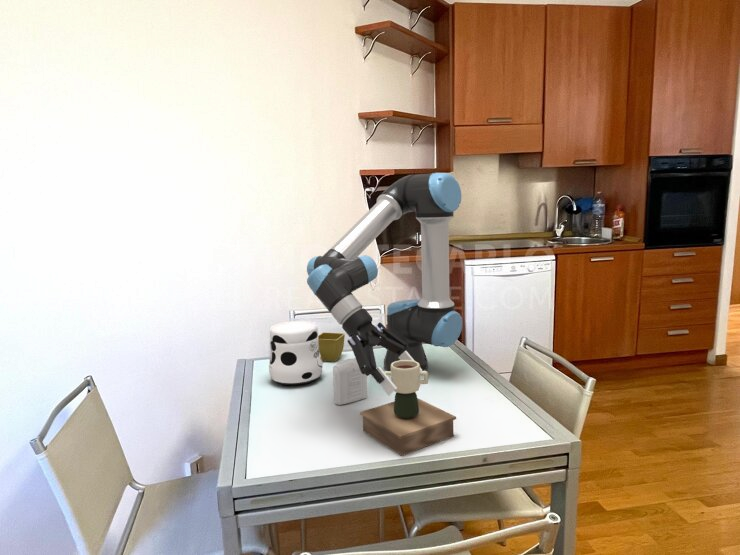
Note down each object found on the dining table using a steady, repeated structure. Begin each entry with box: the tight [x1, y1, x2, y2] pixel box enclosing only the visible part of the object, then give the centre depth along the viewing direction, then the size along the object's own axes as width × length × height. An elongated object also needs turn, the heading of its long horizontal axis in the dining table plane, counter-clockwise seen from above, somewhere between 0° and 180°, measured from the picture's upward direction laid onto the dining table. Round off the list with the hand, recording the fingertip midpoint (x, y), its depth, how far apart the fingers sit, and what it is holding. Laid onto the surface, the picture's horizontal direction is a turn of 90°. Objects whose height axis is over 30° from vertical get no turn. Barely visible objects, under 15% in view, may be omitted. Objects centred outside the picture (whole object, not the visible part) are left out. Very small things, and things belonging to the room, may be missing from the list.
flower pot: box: [318, 332, 346, 362], centre depth 189 cm, size 9×9×9 cm
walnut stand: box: [359, 397, 457, 456], centre depth 129 cm, size 17×17×5 cm
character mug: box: [384, 360, 429, 418], centre depth 128 cm, size 11×7×13 cm, turn 85°
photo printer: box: [332, 357, 368, 406], centre depth 151 cm, size 10×4×12 cm, turn 123°
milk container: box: [268, 320, 323, 386], centre depth 169 cm, size 17×17×18 cm
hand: (406, 382), depth 127 cm, fingers open, 13 cm apart
